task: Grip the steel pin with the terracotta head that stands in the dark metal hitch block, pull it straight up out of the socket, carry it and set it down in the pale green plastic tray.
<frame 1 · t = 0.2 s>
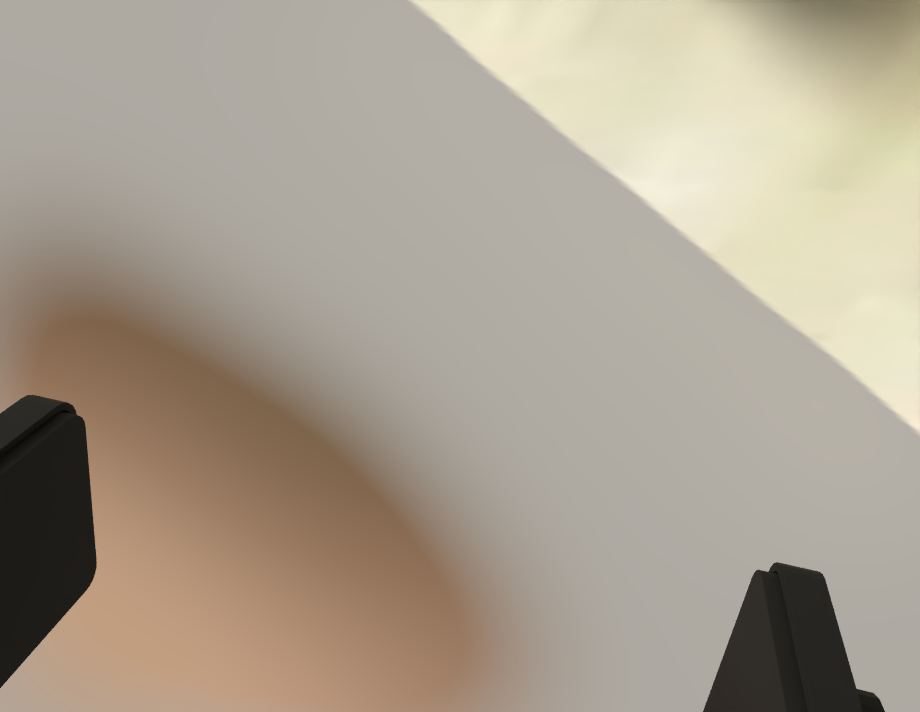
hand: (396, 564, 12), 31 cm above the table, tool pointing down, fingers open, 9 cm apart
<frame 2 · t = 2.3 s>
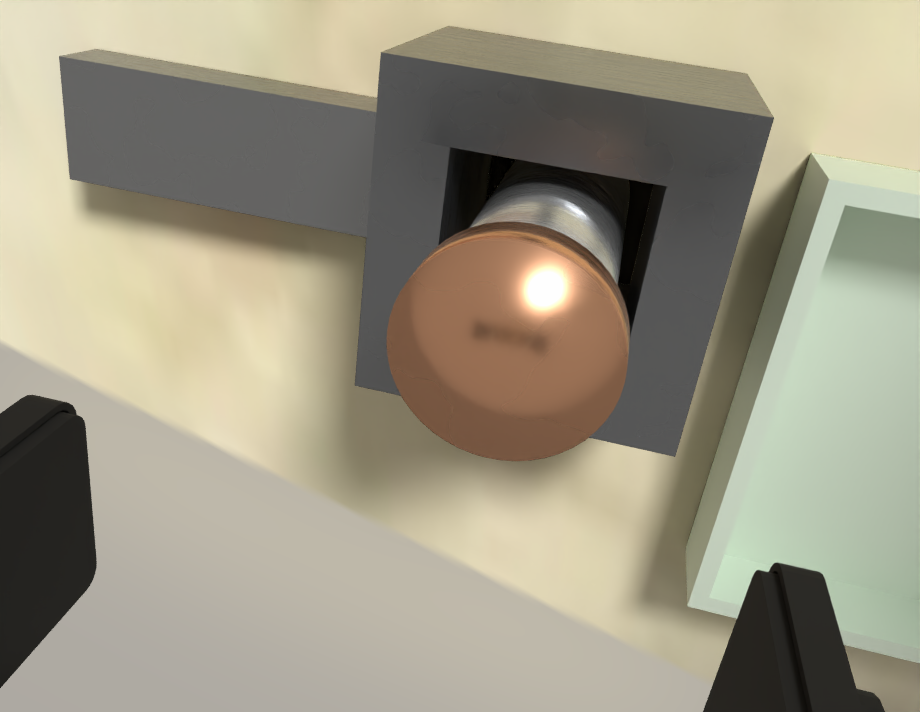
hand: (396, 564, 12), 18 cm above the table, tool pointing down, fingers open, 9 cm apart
hitch block: (566, 195, 27), on the table
pin: (542, 256, 22), in the hitch block
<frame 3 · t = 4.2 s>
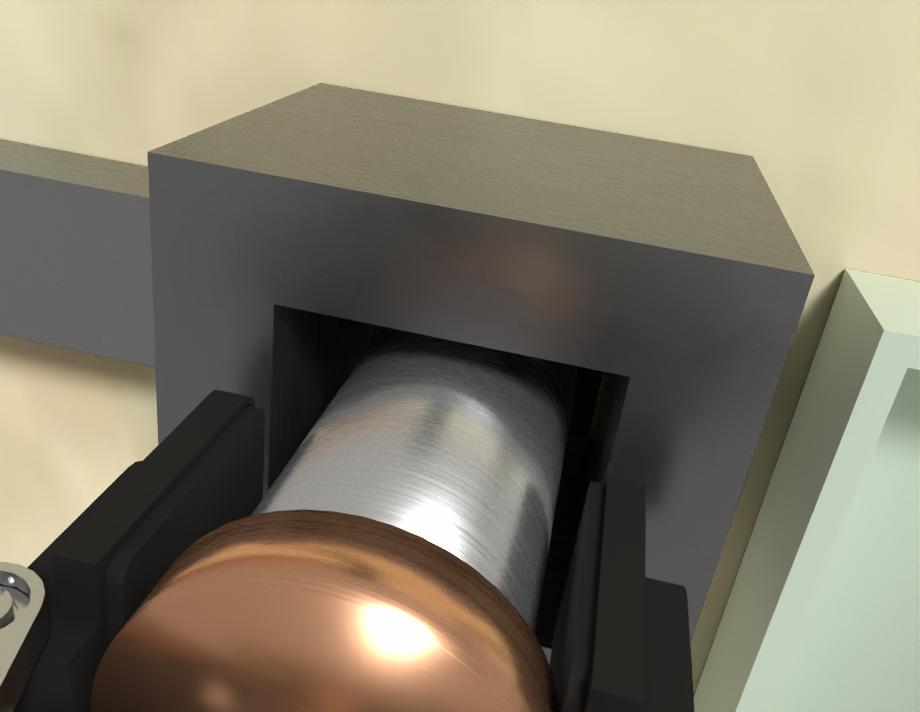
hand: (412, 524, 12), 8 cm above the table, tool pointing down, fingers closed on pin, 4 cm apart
hitch block: (497, 317, 19), on the table
pin: (439, 458, 14), in the hitch block, touching gripper
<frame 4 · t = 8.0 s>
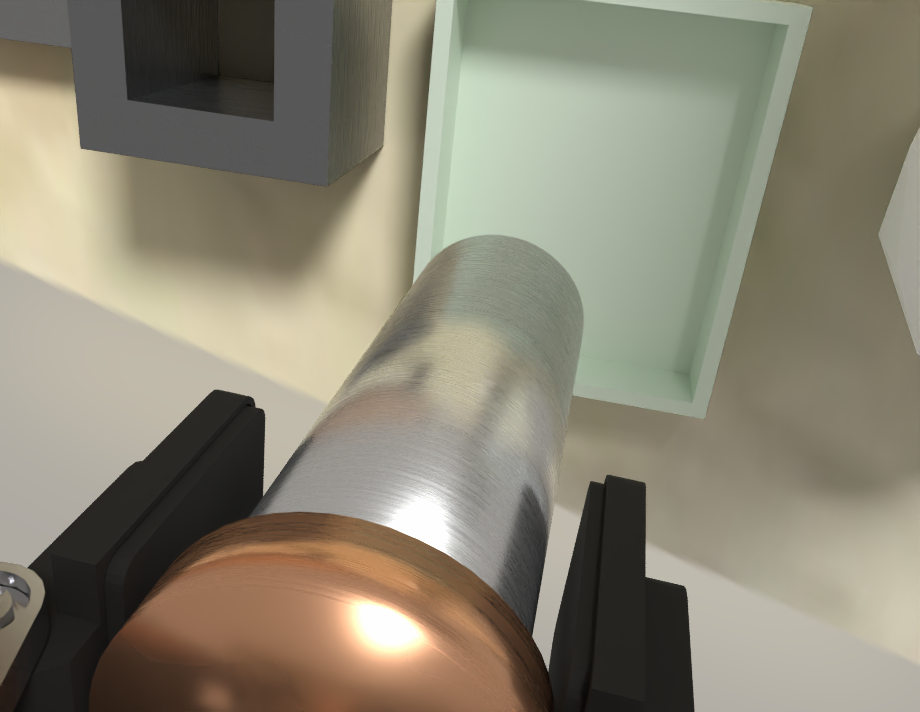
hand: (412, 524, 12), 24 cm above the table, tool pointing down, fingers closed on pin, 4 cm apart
hitch block: (279, 15, 33), on the table
pin: (437, 459, 14), point 22 cm above the table, touching gripper
tray: (587, 189, 34), on the table
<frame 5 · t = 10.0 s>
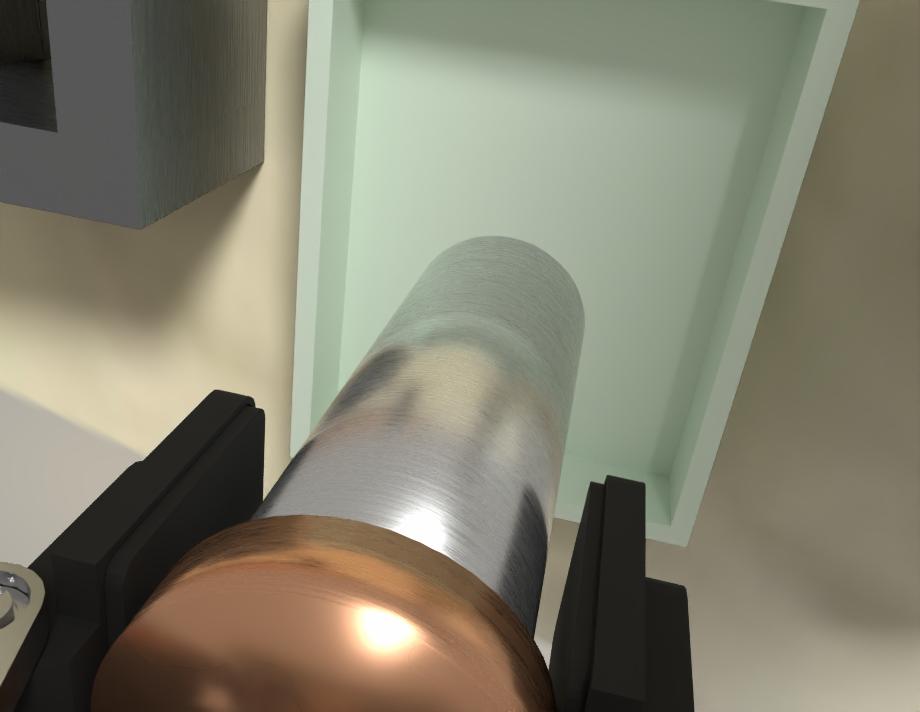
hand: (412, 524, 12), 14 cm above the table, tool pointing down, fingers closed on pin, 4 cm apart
pin: (439, 461, 14), point 12 cm above the table, touching gripper
tray: (537, 228, 25), on the table
when the fingers open (9 cm above the table, at t = 11.7 s): pin stays where it is, resting on tray.
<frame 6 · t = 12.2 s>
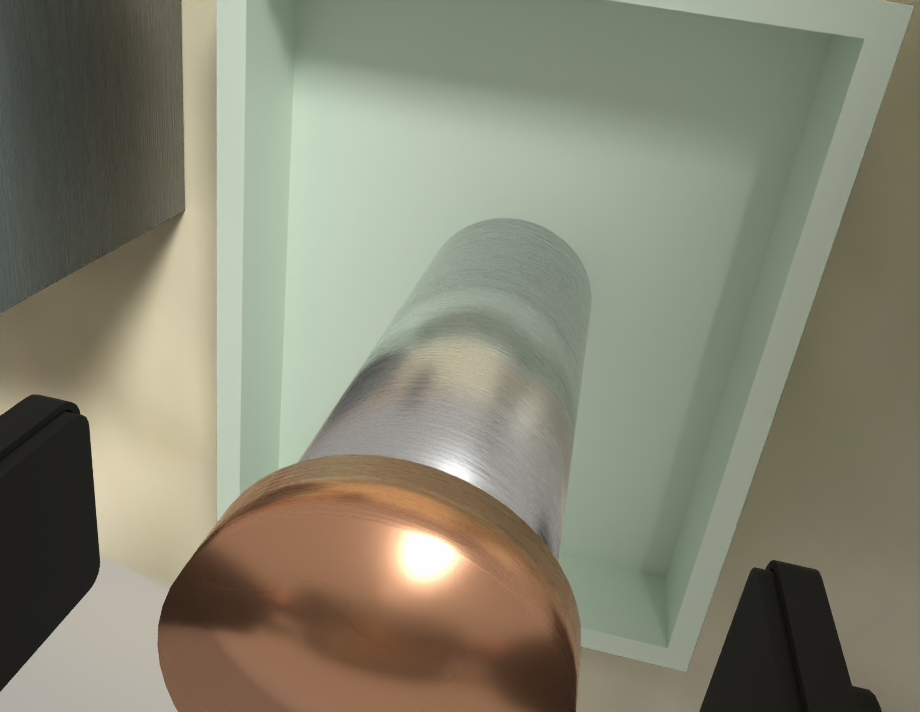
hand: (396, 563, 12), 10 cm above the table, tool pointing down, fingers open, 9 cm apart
pin: (459, 425, 15), in the tray, point 7 cm above the table
tray: (507, 291, 21), on the table
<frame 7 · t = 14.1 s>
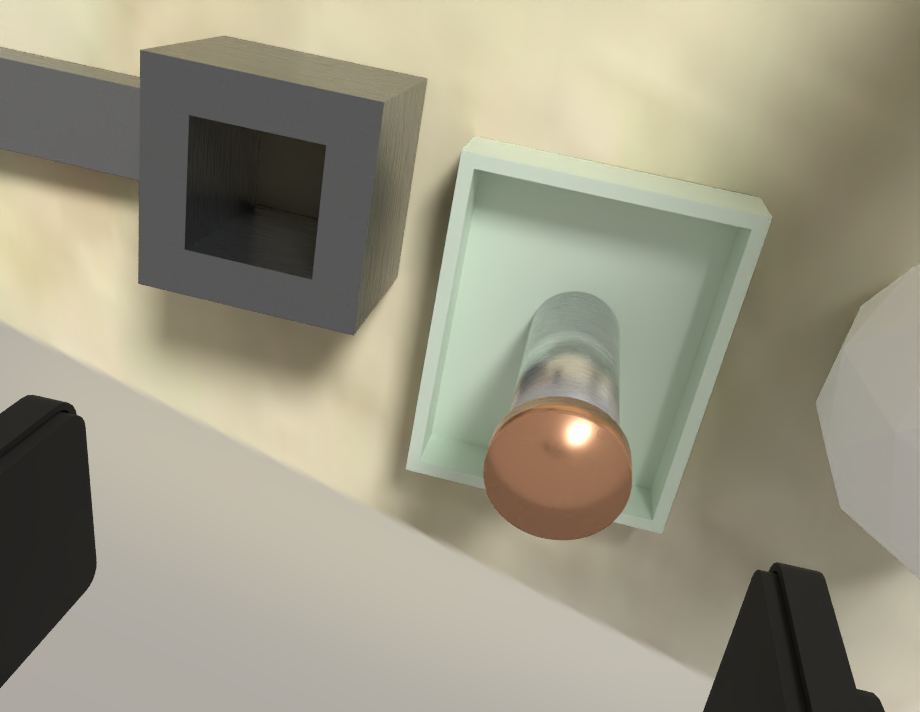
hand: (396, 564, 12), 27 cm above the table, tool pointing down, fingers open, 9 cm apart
hitch block: (314, 161, 38), on the table
pin: (567, 393, 33), in the tray, point 7 cm above the table
tray: (573, 328, 39), on the table
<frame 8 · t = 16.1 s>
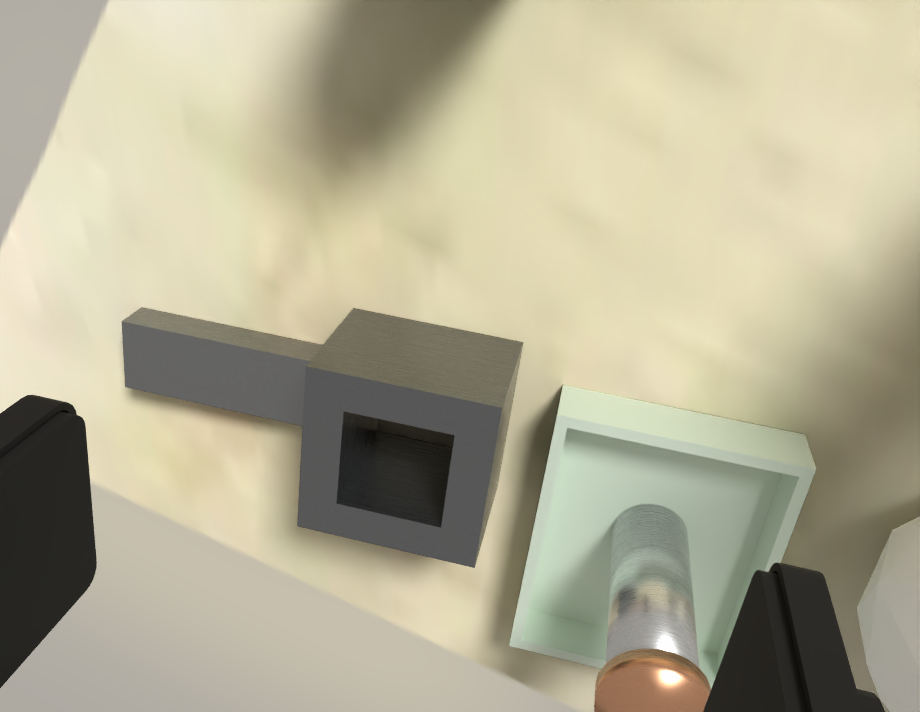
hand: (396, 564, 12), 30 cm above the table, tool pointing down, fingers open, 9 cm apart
hitch block: (427, 400, 46), on the table
pin: (651, 612, 40), in the tray, point 7 cm above the table
tray: (648, 528, 46), on the table
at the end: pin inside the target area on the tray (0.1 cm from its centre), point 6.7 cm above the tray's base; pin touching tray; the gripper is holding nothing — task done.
